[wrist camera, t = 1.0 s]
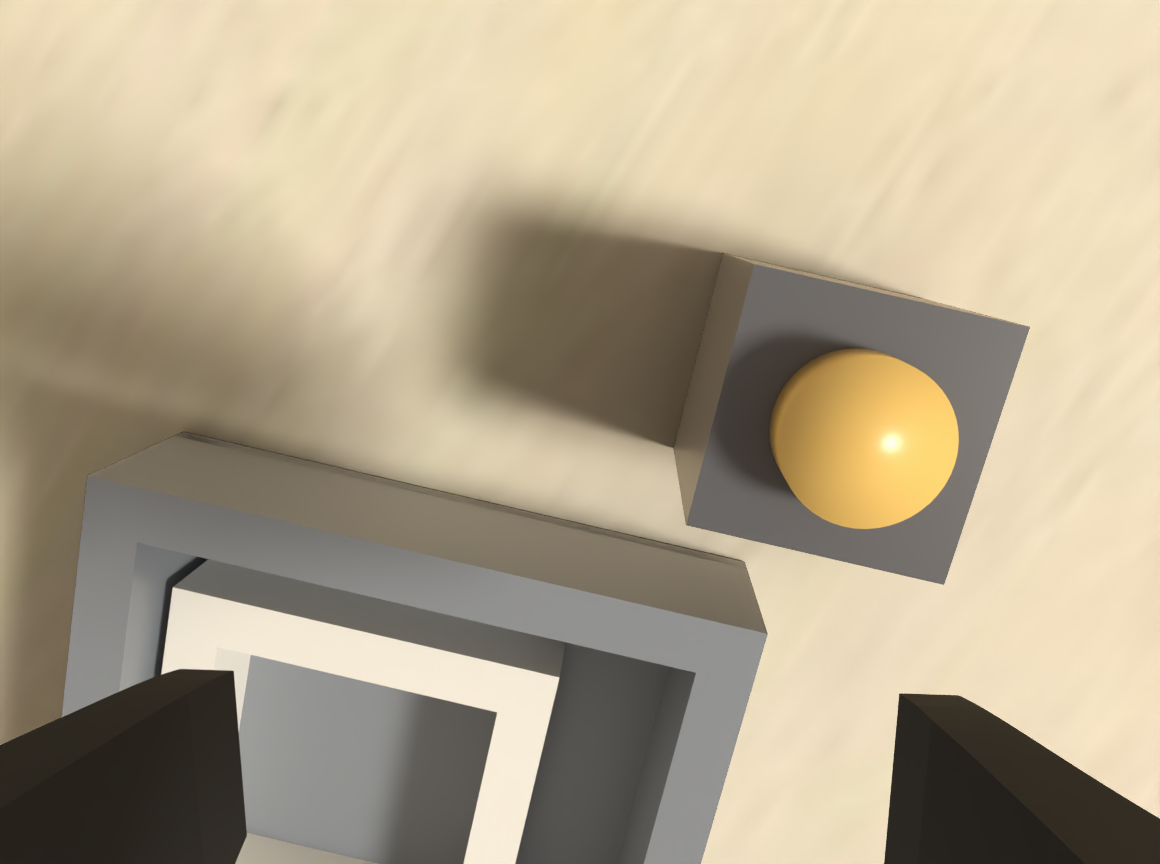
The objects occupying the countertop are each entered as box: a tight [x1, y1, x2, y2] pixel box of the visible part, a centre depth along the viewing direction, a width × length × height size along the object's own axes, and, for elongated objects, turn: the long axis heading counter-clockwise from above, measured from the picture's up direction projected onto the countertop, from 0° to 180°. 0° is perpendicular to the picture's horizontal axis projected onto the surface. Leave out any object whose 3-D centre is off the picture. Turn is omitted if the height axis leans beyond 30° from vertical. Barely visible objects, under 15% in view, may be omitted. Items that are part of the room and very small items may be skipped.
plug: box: [674, 253, 1030, 585], centre depth 16 cm, size 4×4×6 cm
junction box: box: [62, 432, 767, 864], centre depth 19 cm, size 12×11×4 cm
